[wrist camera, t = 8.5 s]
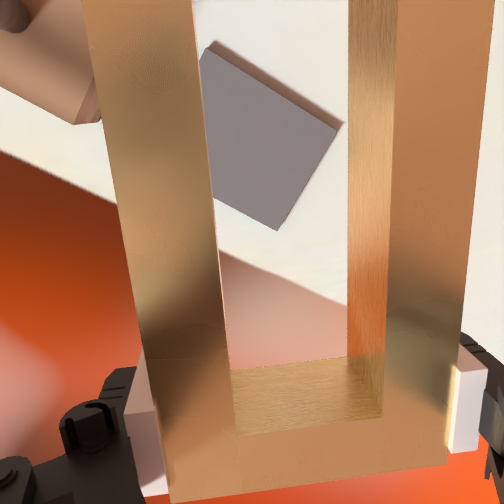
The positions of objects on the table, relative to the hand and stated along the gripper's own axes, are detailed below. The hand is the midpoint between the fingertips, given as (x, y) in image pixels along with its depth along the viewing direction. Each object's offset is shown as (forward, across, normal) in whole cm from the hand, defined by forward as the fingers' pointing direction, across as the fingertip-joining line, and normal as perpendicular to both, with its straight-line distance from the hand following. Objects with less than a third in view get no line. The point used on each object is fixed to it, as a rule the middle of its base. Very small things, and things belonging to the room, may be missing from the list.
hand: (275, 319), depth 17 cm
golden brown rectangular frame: (-3, 0, +6) cm, 7 cm away
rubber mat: (+28, +1, +5) cm, 29 cm away
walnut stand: (+28, -15, +16) cm, 36 cm away
